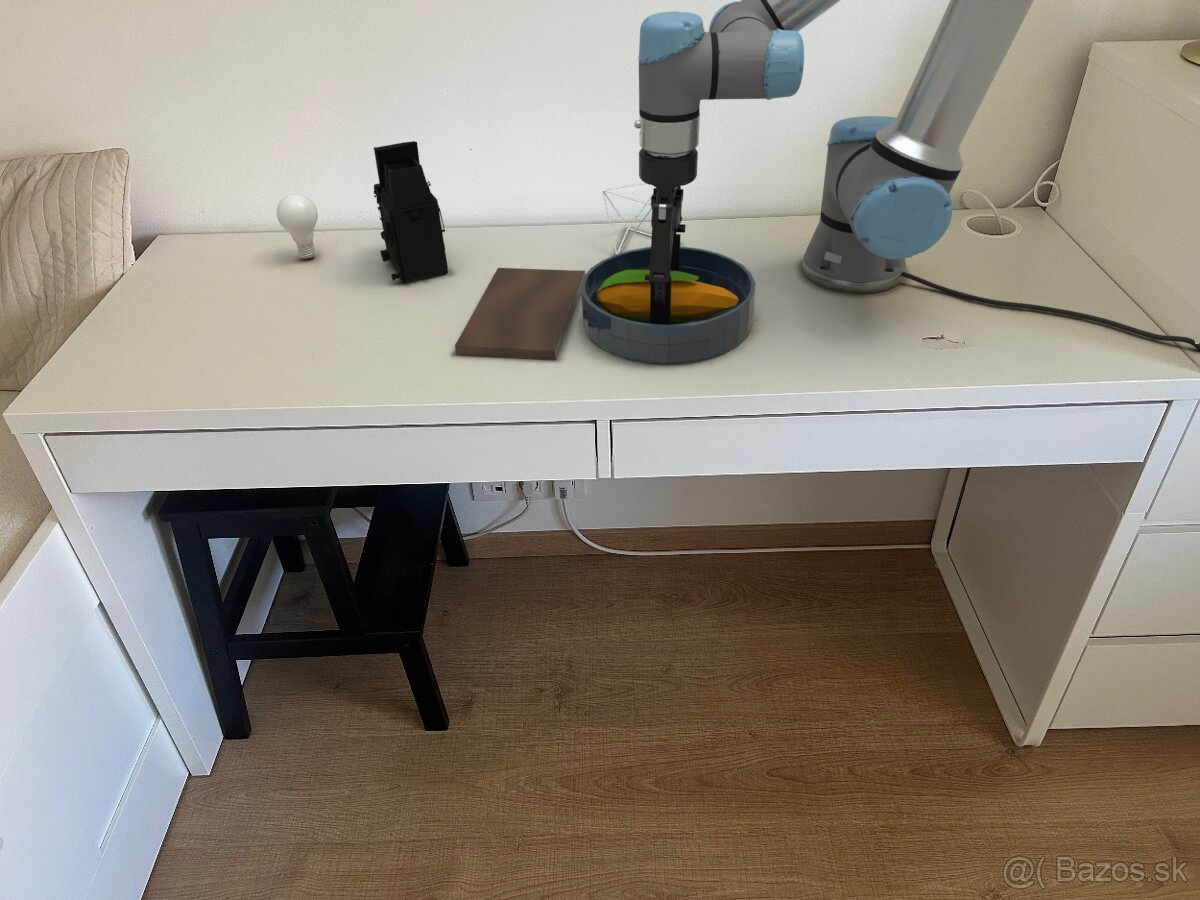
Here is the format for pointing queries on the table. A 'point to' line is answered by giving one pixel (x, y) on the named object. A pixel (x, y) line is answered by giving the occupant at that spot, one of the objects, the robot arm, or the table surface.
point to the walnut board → (522, 314)
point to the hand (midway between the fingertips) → (665, 298)
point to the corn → (688, 297)
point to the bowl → (674, 338)
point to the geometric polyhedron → (621, 217)
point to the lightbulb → (299, 221)
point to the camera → (408, 214)
